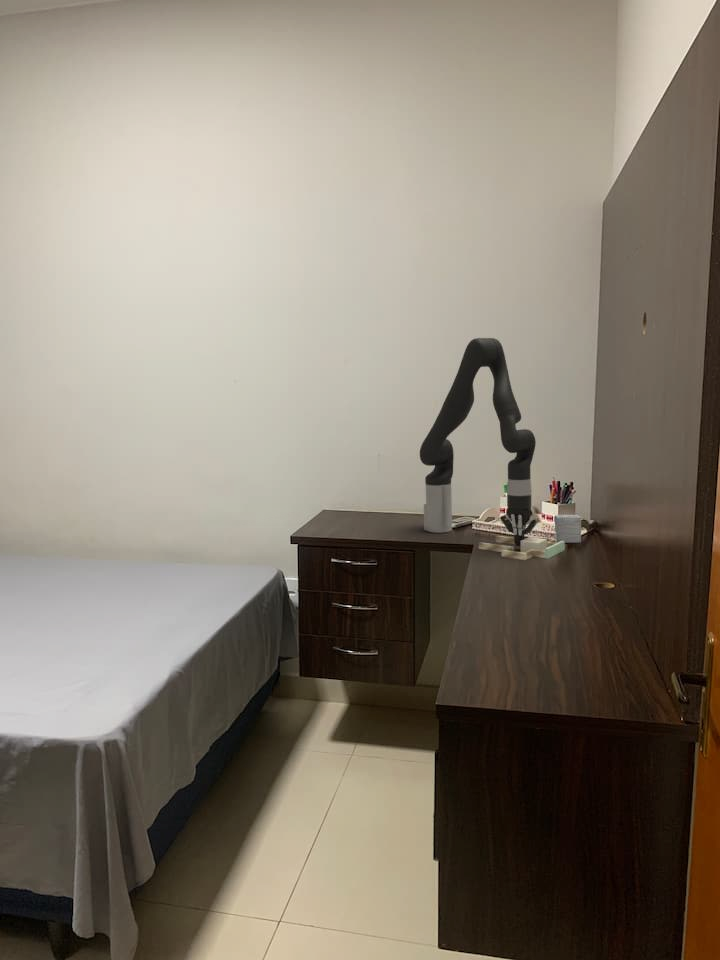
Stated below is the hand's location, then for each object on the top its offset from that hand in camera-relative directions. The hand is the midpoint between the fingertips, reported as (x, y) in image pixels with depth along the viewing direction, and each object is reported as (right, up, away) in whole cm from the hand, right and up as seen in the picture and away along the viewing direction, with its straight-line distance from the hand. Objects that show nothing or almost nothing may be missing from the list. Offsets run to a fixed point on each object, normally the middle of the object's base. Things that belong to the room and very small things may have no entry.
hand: (519, 546), depth 236 cm
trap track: (+1, -1, -1) cm, 2 cm away
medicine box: (+18, 0, +8) cm, 20 cm away
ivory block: (+4, -2, -3) cm, 5 cm away
